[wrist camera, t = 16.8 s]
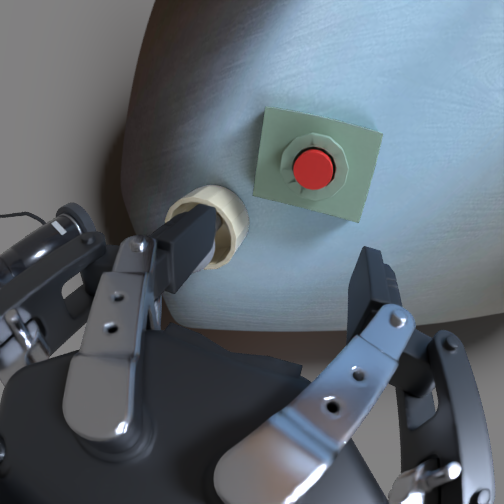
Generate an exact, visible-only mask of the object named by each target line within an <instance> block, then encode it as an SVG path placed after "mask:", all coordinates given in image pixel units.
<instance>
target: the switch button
mask: <svg viewBox="0 0 504 504" xmlns="http://www.w3.org/2000/svg"><path fill="white" fill-rule="evenodd" d="M293 172H294V176H295V179H296V180H297V182H298V183H299V184H300V185H301V186H303V187H304V188H307V189H310V190H318V189H321V188H323V187H325V186H326V185H327V184H328V183H329V182H330V180H331V178H332V174H333V165H332V162H331V159H330V158H329V156H328V155H327V154H325V153H324V152H322V151H320V150H316V149H310V150H307V151H305V152H303V153H302V154H301V155H300V156H299V157H298V158H297V160H296V161H295V163H294V167H293Z"/></svg>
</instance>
